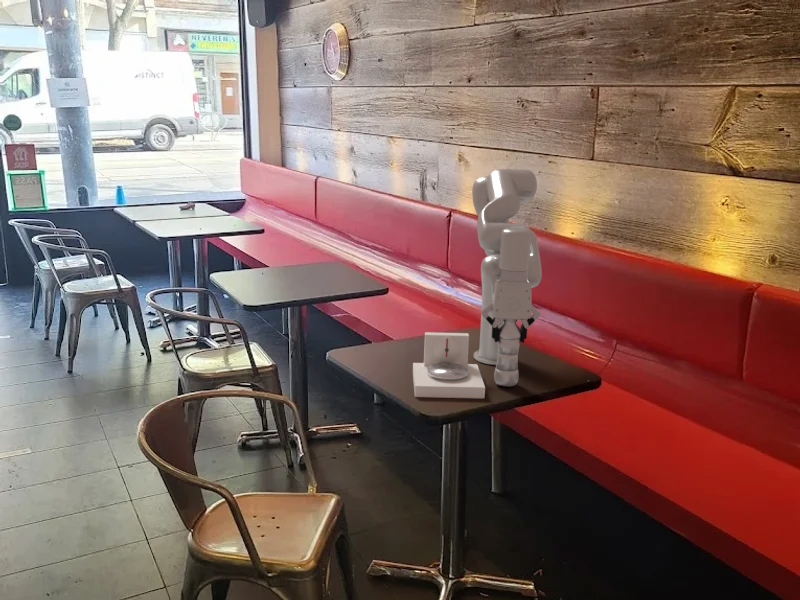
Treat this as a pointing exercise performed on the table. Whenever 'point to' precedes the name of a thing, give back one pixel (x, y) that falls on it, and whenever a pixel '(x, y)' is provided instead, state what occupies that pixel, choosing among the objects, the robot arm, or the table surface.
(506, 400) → the table surface
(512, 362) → the plastic bottle
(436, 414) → the table surface
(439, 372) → the scale pan
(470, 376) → the scale
